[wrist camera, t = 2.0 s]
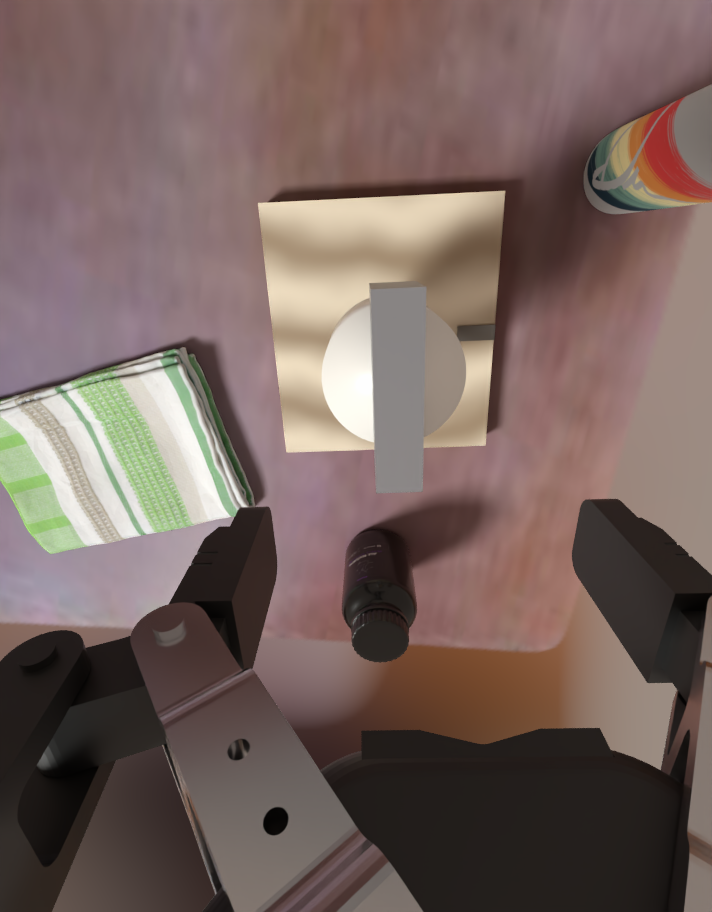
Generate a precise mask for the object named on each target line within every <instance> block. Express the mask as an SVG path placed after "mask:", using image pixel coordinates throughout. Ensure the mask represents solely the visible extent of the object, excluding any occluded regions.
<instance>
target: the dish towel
mask: <svg viewBox="0 0 712 912" xmlns="http://www.w3.org/2000/svg"><path fill="white" fill-rule="evenodd" d="M0 481H1V482H2V484H3V485H4V487H5V488H6V490H7V491H8V493H9V495H10V497H11V499H12V500H13V502H14V504H15V506H16V508H17V509H18V512H19V514H20V516H21V518H22V520H23V522H24V524H25V526H26V528H27V530H28V531H29V533H30V534H31V535H32V536H33V537H34V538H35V539H36V540H37V542H38V543H39V544H40V545H41V546H42V547H43V548H44V549H45V550H46V551H47V552H49V553H50V554H53V553H59V552H63V551H66V550H71V549H76V548H81V547H87V546H92V545H98V544H104V543H111V542H115V541H119V540H123V539H127V538H131V537H136V536H141V535H146V534H151V533H158V532H164V531H170V530H173V529H180V528H184V527H187V526H193V525H195V524H199V523H204V522H208V521H212V520H216V519H222V518H228V517H235V515H236V513H237V511H238V509H239V508H240V507H255V503H254V495H253V493H252V490H251V488H250V485H249V483H248V481H247V478H246V475H245V472H244V471H243V469H242V467H241V464H240V462H239V459H238V457H237V455H236V453H235V451H234V449H233V446H232V444H231V441H230V438H229V436H228V435H227V433H226V430H225V427H224V425H223V422H222V420H221V417H220V415H219V412H218V410H217V408H216V405H215V403H214V399H213V396H212V392H211V389H210V387H209V385H208V383H207V381H206V379H205V376H204V373H203V371H202V369H201V367H200V365H199V364H198V362H197V361H196V357H195V355H194V354H187V351H186V348H185V347H182V348H180V349H173V350H167V351H165V352H160V353H156V354H153V355H151V356H147V357H143V358H141V359H137V360H134V361H130V362H126V363H123V364H120V365H116V366H113V367H109V368H105V369H103V370H98V371H96V372H91V373H89V374H87V375H84V376H81V377H79V378H77V379H75V380H72V381H69V382H67V383H64V384H61V385H58V386H53V387H47V388H43V389H38V390H34V391H30V392H27V393H24V394H21V395H15V396H13V397H9V398H5V399H0Z"/></svg>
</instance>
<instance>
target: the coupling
mask: <svg viewBox="0 0 712 912" xmlns="http://www.w3.org/2000/svg"><path fill="white" fill-rule="evenodd" d="M369 294H370V298H368V299H365V300H363V301H361V302H359V303H358V304H356V305H355V306H353V307H352V308H351V309H349V310H348V311H347V312H346V313H345V314H344V315H343V317H342V318H341V319H340V320H339V322H338V323H337V325H336V327H335V329H334V331H333V333H332V335H331V338H330V341H329V344H328V347H327V349H326V352H325V356H324V360H323V364H322V387H323V392H324V396H325V399H326V402H327V404H328V406H329V408H330V410H331V411H332V413H333V415H334V416H335V417H336V419H337V420H338V421H339V422H340V423H341V424H342V425H343V426H344V427H345V428H346V429H347V430H349V431H350V432H351V433H353V434H355V435H356V436H358V437H360V438H362V439H365V440H367V441H370V442H374V463H375V479H376V493H399V492H423V447H424V437H426V436H428V435H430V434H431V433H433V432H434V431H436V430H437V429H438V428H439V427H441V426H442V425H443V424H444V423H445V422H446V421H447V420H448V419H449V418H450V416H451V415H452V414H453V412H454V411H455V409H456V407H457V406H458V404H459V402H460V400H461V397H462V395H463V391H464V387H465V382H466V361H465V356H464V352H463V349H462V346H461V344H460V342H459V340H458V338H457V336H456V335H455V333H454V331H453V330H452V329H451V328H450V327H449V325H448V324H447V323H446V322H445V321H443V320H442V319H441V318H440V317H439V316H438V315H437V314H435V313H434V312H433V311H432V310H431V309H430V308H429V307H427V306H426V286H424V285H422V284H421V283H419V282H417V281H405V282H383V283H369Z"/></svg>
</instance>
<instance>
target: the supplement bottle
mask: <svg viewBox="0 0 712 912" xmlns="http://www.w3.org/2000/svg"><path fill="white" fill-rule="evenodd" d="M342 614H343V618H344V620H345V622H346V624H347V625H348V627H349V628H350V629H351V632H352V646H353V647H354V650H355V651H356V652H357V654H359V655H360V656H361V657H363V658H364V659H367V660H369V661H373V662H387V661H392V660H393V659H397V658H398V657H400V656H401V655H402V654H404V652H405V651H406V650H407V647H408V643H409V635H408V633H409V628H410V627H411V625H412V624H413V622H414V620H415V618H416V614H417V602H416V595H415V587H414V579H413V572H412V564H411V558H410V552H409V549H408V546H407V545H406V543H405V542H404V540H403V539H402V538H400V537H399V536H398V535H396V534H394V533H392V532H390V531H386V530H369V531H366V532H363V533H361V534H359V535H358V536H357V537H355V538H354V539H353V540H352V541H351V543H350V544H349V546H348V548H347V551H346V557H345V569H344V583H343V596H342Z"/></svg>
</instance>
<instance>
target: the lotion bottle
mask: <svg viewBox="0 0 712 912" xmlns="http://www.w3.org/2000/svg"><path fill="white" fill-rule="evenodd" d="M583 183H584V190H585V194H586V196H587V198H588V200H589V202H590V203H591V204H592V205H593V206H594V207H595V208H596V209H598V210H600V211H602V212H604V213H608V214H625V213H634V212H641V211H649V210H656V209H664V208H671V207H679V206H686V205H694V204H701V203H709V202H712V84H711V85H708V86H706V87H704V88H702V89H700V90H698V91H696V92H694V93H691V94H689V95H687V96H685V97H683V98H681V99H679V100H677V101H674V102H672V103H670V104H668V105H666V106H664V107H662V108H660V109H658V110H655V111H653V112H651V113H649V114H647V115H645V116H643V117H641V118H638V119H636V120H634V121H632V122H630V123H628V124H626V125H624V126H622V127H620V128H618V129H616V130H614V131H613V132H611V133H610V134H608V135H607V136H606V137H604V138H603V139H602V140H601V141H600V142H599V143H598V145H597V146H596V147H595V148H594V150H593V151H592V153H591V155H590V156H589V158H588V161H587V163H586V166H585V170H584V178H583Z"/></svg>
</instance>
